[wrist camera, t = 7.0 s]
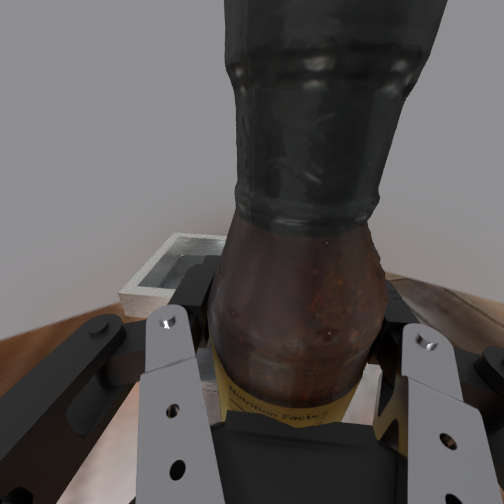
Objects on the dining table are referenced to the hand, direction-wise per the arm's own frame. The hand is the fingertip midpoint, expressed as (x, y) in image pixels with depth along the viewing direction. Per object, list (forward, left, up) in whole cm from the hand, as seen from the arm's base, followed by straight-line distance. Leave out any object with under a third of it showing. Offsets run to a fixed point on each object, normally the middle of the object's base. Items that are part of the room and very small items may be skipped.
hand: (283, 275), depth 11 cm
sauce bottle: (0, +2, -11) cm, 12 cm away
